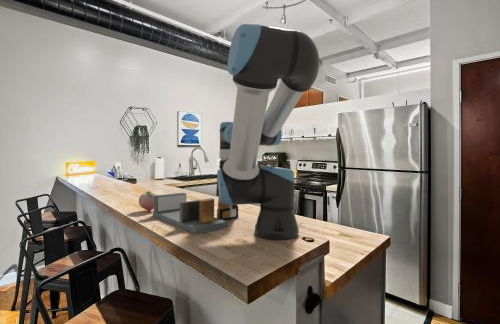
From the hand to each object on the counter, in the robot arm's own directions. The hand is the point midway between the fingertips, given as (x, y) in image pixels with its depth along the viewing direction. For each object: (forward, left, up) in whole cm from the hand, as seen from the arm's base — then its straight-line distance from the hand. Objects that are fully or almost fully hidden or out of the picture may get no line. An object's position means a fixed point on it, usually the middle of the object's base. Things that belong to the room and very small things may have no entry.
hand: (227, 214), depth 109 cm
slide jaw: (-2, +14, 0) cm, 14 cm away
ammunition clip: (0, 0, -2) cm, 2 cm away
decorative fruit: (+36, +19, -2) cm, 41 cm away
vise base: (+9, +14, -2) cm, 16 cm away
